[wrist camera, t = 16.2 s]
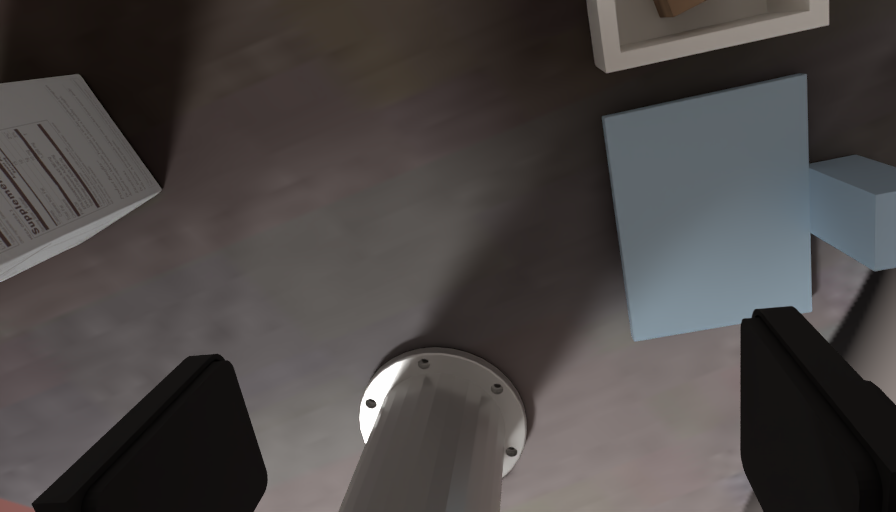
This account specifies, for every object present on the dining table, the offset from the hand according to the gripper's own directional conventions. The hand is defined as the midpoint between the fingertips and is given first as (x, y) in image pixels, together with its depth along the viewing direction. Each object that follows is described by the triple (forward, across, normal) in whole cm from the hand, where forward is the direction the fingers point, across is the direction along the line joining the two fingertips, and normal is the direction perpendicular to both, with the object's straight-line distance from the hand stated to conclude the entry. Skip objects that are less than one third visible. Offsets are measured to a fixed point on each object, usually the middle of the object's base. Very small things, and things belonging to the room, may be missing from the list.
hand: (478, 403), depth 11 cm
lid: (+28, -12, +6) cm, 31 cm away
